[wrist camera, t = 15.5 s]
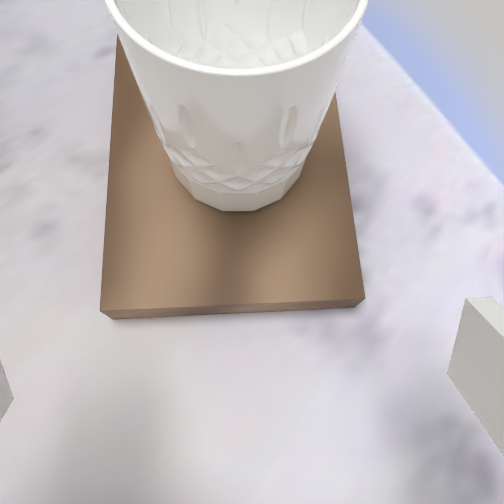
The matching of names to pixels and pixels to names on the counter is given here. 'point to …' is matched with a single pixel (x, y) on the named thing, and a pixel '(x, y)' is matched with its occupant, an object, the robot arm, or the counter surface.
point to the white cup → (237, 86)
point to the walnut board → (221, 230)
